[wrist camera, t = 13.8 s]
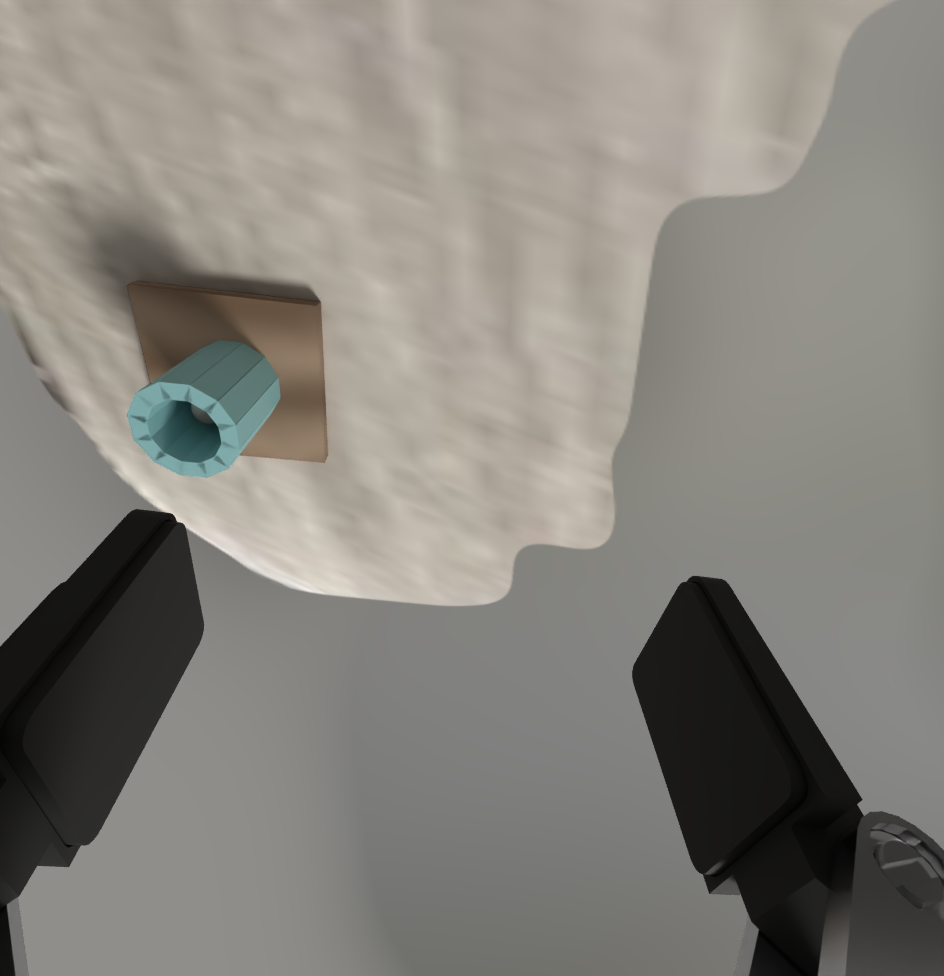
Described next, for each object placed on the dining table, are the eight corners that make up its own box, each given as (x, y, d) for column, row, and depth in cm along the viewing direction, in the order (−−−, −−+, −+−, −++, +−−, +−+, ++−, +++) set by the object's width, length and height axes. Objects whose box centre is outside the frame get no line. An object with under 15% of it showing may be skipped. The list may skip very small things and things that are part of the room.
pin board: (136, 281, 33) (69, 303, 27) (320, 301, 34) (293, 327, 28) (174, 441, 39) (126, 487, 34) (327, 455, 40) (306, 501, 34)
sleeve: (185, 336, 34) (116, 377, 27) (275, 346, 34) (230, 389, 27) (200, 417, 37) (142, 471, 30) (283, 424, 37) (244, 480, 31)
